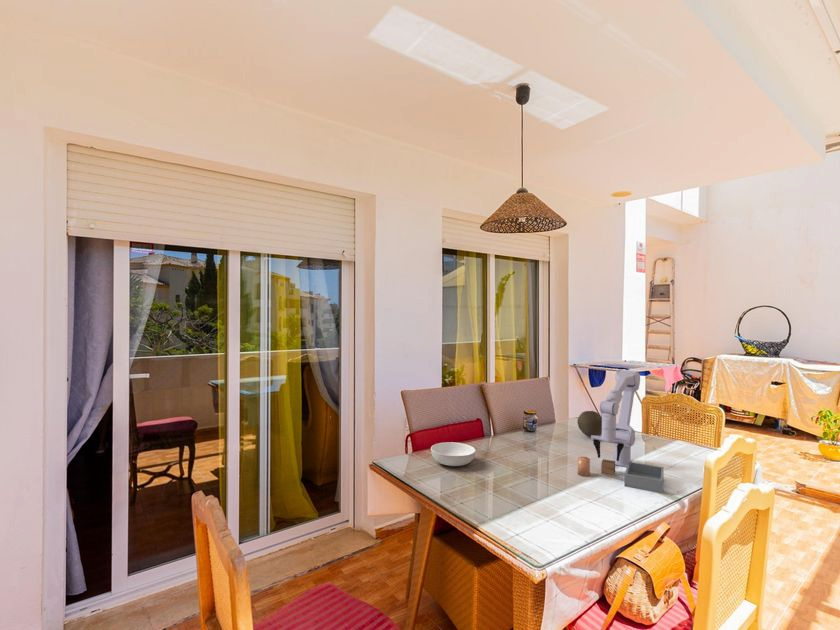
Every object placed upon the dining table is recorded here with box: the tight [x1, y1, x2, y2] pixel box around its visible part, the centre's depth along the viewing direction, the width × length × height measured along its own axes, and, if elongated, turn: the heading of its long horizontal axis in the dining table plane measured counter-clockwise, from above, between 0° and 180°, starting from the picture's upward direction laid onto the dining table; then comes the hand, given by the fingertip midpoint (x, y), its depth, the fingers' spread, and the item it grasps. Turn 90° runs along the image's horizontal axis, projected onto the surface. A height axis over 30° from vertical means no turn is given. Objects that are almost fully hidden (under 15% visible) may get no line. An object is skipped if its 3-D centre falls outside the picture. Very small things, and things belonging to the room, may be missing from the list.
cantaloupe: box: [576, 410, 602, 438], centre depth 246 cm, size 14×14×15 cm
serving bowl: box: [430, 441, 477, 467], centre depth 201 cm, size 21×21×7 cm
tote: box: [624, 461, 665, 494], centre depth 180 cm, size 18×14×5 cm
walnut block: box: [600, 458, 616, 477], centre depth 191 cm, size 5×5×5 cm
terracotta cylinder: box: [577, 456, 591, 478], centre depth 188 cm, size 5×5×7 cm
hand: (608, 458), depth 191 cm, fingers open, 7 cm apart
